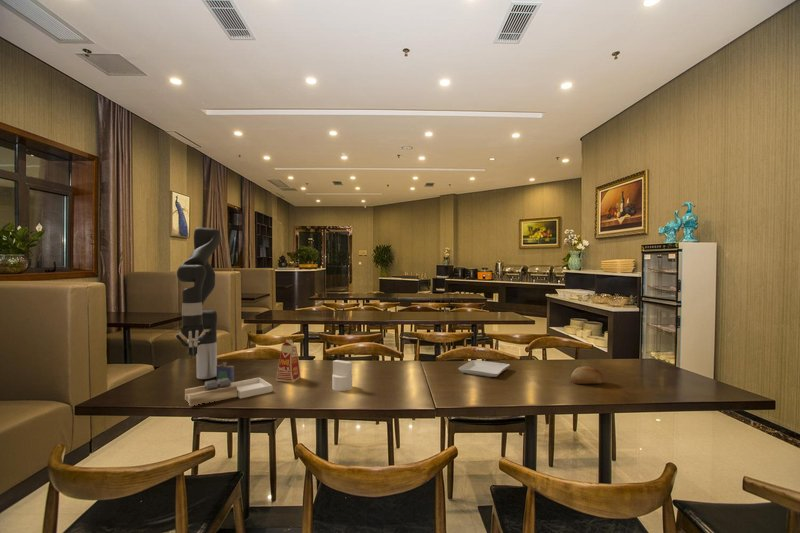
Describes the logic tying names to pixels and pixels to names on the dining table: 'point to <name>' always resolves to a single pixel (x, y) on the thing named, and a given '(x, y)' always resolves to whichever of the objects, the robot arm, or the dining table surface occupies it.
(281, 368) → the milk carton
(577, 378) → the bread roll
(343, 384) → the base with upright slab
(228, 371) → the flask
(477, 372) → the salad plate
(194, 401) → the channel
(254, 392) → the tray
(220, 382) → the blue-grey cube
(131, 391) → the dining table surface
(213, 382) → the grey cube
